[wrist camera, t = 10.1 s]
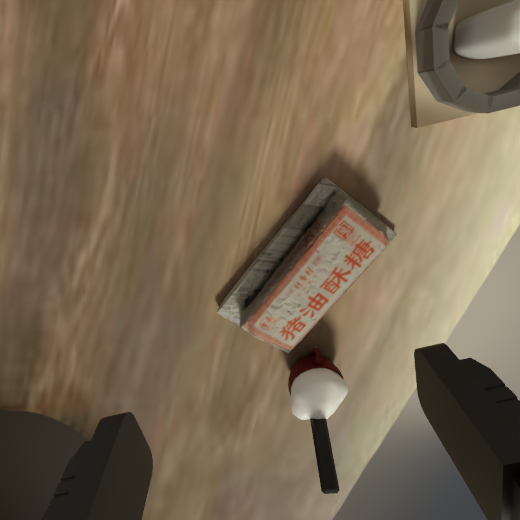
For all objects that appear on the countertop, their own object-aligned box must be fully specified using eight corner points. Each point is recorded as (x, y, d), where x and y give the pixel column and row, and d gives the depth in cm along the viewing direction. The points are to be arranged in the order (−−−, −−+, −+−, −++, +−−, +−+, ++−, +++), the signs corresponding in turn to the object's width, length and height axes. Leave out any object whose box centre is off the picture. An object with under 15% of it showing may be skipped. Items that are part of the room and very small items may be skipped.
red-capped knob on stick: (303, 331, 44) (322, 404, 32) (351, 348, 45) (386, 424, 33) (270, 395, 47) (279, 482, 35) (316, 409, 48) (339, 498, 36)
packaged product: (333, 182, 32) (413, 246, 35) (321, 172, 37) (393, 230, 40) (213, 330, 37) (292, 376, 40) (216, 305, 42) (286, 348, 45)
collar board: (401, -28, 30) (425, -46, 27) (551, -67, 30) (597, -91, 26) (411, 127, 35) (433, 130, 31) (541, 95, 35) (579, 94, 31)
